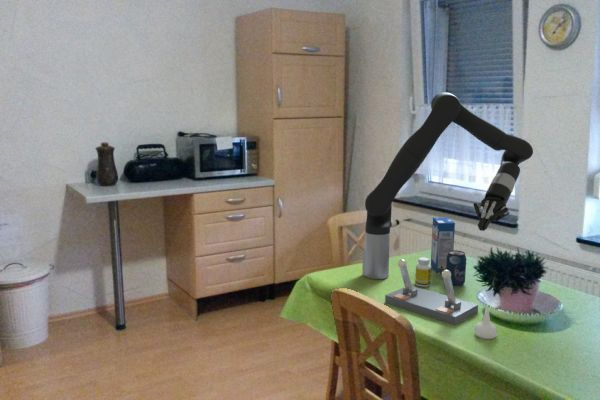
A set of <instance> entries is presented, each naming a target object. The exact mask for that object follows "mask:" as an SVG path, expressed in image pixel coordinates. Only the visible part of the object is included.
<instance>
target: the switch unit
mask: <svg viewBox="0 0 600 400" xmlns="http://www.w3.org/2000/svg"><path fill="white" fill-rule="evenodd" d="M412 288H413V290H411V293H408V292H406V289H405V286H403V287H402V288H399V289H397V290H395V291H392V292H389V293H387V294H385V295H384V297H385V298H384V302H385V303H386V304H390V305H393V306H395V307H399V308H402V309H405V310H407V311H411V312H414V313H417V314H420V315H424V316H427V317H430V318H433V319H436V320H439V321H443V322H444V323H445V322H446V323H448V324H452V325H455V326H456V325H457V324H459V323H461V322H463V321H464V320H466V319H469V318H470V317H472V316H473V315H476V314H478V312H479V304H478V303H473V302H470V301H468V300H467V301H466V300H462V299H459V298H456V297H455V300H456V302H455V303H454V306H452V305H449V302H448V298H447V294H443V293H442V294H441V293H437V292H434V291H432V290H431V291H430V290H428V289H424V288H422V287H419V286H417V287H416V286H415V285H412Z"/></svg>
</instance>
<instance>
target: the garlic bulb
mask: <svg viewBox="0 0 600 400" xmlns="http://www.w3.org/2000/svg"><path fill="white" fill-rule="evenodd" d="M490 318H491V317H490V309H487V308H486V309H485V310H484V314H483V319H482V321H479V322H477V323H476V324H475V326H474V328H473V331H474V334H475V336H476V337H478V338H480V339H484V340H492V339H495V338H497V335H498V330H497V327H496V326H495V324H494V323H492V322H491V319H490Z"/></svg>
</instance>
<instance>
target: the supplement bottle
mask: <svg viewBox="0 0 600 400" xmlns="http://www.w3.org/2000/svg"><path fill="white" fill-rule="evenodd" d="M431 272H432V266H431V264H430V258H429V257H424V256H422V257H418V259H417V264H416V265H415V277H414V278H415V279H414V284H415V285H416V286H417V287H420V288H424V287H427V288H428V287H429V286H430V285H431V276H432V273H431Z"/></svg>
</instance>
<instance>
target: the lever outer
mask: <svg viewBox="0 0 600 400" xmlns="http://www.w3.org/2000/svg"><path fill="white" fill-rule="evenodd" d="M441 277H442V279H443V284H444V287H445V292H446V296H447V298H448V302H449V305H452V306H454V303H455V302H456V300H455V298H456V295H455V291H454V286H452V281H451V272H450V271H449V270H444V271H443V272H442V273H441Z"/></svg>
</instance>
